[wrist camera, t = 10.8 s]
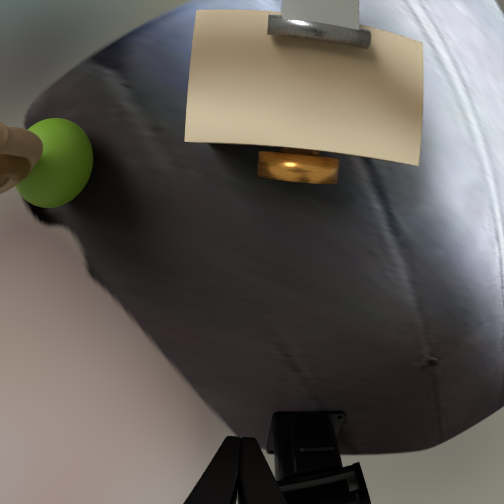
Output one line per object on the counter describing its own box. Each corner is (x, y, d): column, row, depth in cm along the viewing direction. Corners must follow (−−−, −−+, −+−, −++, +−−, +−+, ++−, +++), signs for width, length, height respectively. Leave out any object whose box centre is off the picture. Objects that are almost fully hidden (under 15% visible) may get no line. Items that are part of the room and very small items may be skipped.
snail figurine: (132, 166, 18) (-8, 203, 7) (64, 211, 19) (-65, 277, 8) (100, 95, 16) (-43, 71, 5) (36, 147, 17) (-98, 172, 6)
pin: (327, 178, 17) (346, 187, 13) (257, 171, 17) (256, 178, 13) (335, -21, 13) (351, -52, 9) (270, -29, 13) (273, -63, 9)
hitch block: (372, 158, 18) (418, 165, 12) (207, 143, 17) (184, 141, 12) (377, 67, 16) (422, 42, 10) (214, 49, 15) (196, 10, 10)
